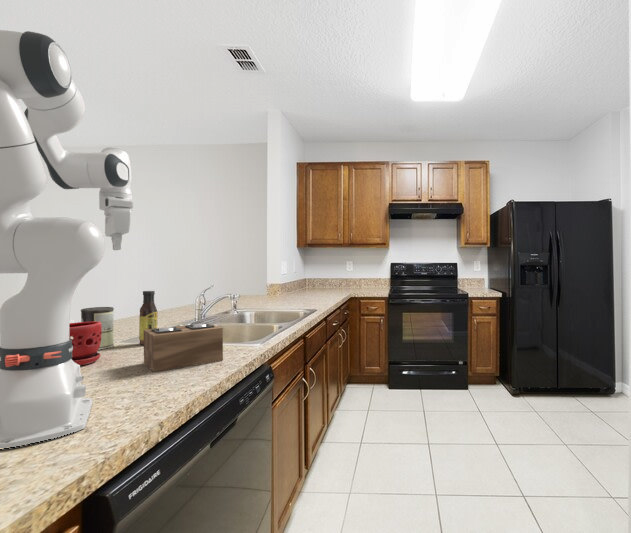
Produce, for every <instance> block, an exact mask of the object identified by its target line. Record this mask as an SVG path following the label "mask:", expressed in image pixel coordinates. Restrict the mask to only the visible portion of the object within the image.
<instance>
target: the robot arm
mask: <svg viewBox="0 0 631 533" xmlns="http://www.w3.org/2000/svg"><path fill="white" fill-rule="evenodd" d="M19 100H21V101H22V103H24V105H25V106H26V109H25V110H23V108H22V106H21V104H20V102H19ZM85 113H86V104H85V101H84V98H83V95H82V93H81V91H80V89H79V88H78V86H77V85H76V83H75V81H74V79H73V77H72V69H71V65H70V62H69V59H68V56H67V54H66V53H65V50H64V49H63V48H62V47H61V45H59V43H57V42H56V40H54V39H53V38H51V37H50V36H48V35H47V34H43V33H39V32H35V31H29V30H28V31H24V32H20V31H13V30H12V31H11V30H4V29H3V30H2V29H0V274H27V277H26V281H25V284H24V286H23V288H22V289H21V290H20V291H19V293H17V294H15V295H12V296H11V297H9V298H8V299H6V300H5V301H4V302H3V303H2V304H1V307H0V448H7V447H15V448H17V447H16V446H20V447H22V446H21V445H25V446H27V445H26V444H30V443H35V442H39V443H41V442H40V441H43V440H47V441H49V440H48V439H51V440H54V438H55V439H58V438H60V437H61V436H62V437H65V436H67V434H68V435H71V434H73V432H74V433H76V432H79V431H80V430H83V429H85V428H86V426H87V423H88V420H89V417H90V412H91V409H92V407H93V399H92V397H86V384H81V382H84V374H81V365H78V364H77V363H75V362H74V361H73V360H72V359H71V358H72V350H73V345H72V340H71V339H72V338H71V339H69V323H70V318H71V317H70V315H71V305H72V300H73V298H74V294H75V291H76V290H77V288H78V285H79V284H80V282H81V280H83V278H84V277H85V276H86V275H87V274H88V273H89V272H91V270H93V269H94V268H96V267H97V266H98V265H99V263H100V262H101V261H102V259H103V257H104V255H105V250H106V244H105V243H106V242H105V241H106V240H105V238H104V235H103V233H102V231H101V230H100V229H99V227H98V226H97V225H96V224H94V223H93V222H90V221H87V220H82V219H79V218H78V219H77V218H71V217H34V216H33V214H32V212H31V200H33V199H35V198H36V197H38V196H39V195H40V194H42V192H43V191H44V190H45V188H46V186H47V184H48V177H47V173H46V170H45V167H44V165H43V164H44V163H45V165H46V166H47V167H46V168H47V171H48V174H49V176H50V178H51V180H52V181H53V182H54V183H55V184H56V185H57V186H59V187H60V188H61V189H63V190H75V189H76V190H77V189H99V194H98V195H99V196H98V199H99V200H98V202H99V203H98V204H99V205H98V206H99V211H100V210H101V211H104V214H103V215H104V216H105V218H104V219H105V220H104V234H105V237H110V238H111V244H112V250H113V251H121V249H122V240H123V235H126V234H128V233H129V232H130V229H131V221H132V220H131V219H132V218H131V217H132V211H133V208H134V201H133V193H132V188H131V187H132V180H133V177H132V176H133V174H132V173H133V172H132V165H131V160H130V155H129V154H128V153H127V152H126V151H125V150H122V149H120V148H115V147H105V148H103V149H102V150H101V152H74V151H73V152H72V151H68V150H66V149H64V148H63V146H62V144H61V142H60V140H59V138H58V136H57V135H59V134H63V133H68V132H70V131H71V130H74V129H75V128H76V127H77V126H78V125H79V124H80V123H81V122H82V121H83V119H84V116H85ZM43 161H44V163H43ZM91 406H92V407H91ZM87 419H88V420H87ZM70 433H71V434H70ZM64 435H65V436H64ZM57 437H58V438H57ZM43 442H44V441H43ZM35 444H36V443H35ZM30 445H31V444H30Z"/></svg>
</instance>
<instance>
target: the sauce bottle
mask: <svg viewBox="0 0 631 533" xmlns="http://www.w3.org/2000/svg"><path fill="white" fill-rule="evenodd" d="M155 294H156V293H155V290H142V295H143V298H142V299H143V300H142V305H141V306H140V308H139V326H138V330H139V331H138V334H139V338H138V339H139V344H140V345H142V346H144V330H148V329H157V328H159V326H158V320H159V318H158V315H159V314H158V309H157V306H156V304H155Z"/></svg>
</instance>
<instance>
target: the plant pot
mask: <svg viewBox="0 0 631 533" xmlns="http://www.w3.org/2000/svg"><path fill="white" fill-rule="evenodd" d="M101 335H102V326H101V322H94V321H92V322H81V321H79V322H71V323H70V322H69V339H71V340H72V345H73V350H72V358H71V359H72V360H73V361H74V362H75V363H77V364H78V365H80V366H85V365H89V364H93V363H95V362H96V361H98V360H99V359H100V357H101V354H102V353H101V352H98V351H99V350H98V349H99V346H100V343H101Z"/></svg>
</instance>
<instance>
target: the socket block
mask: <svg viewBox="0 0 631 533" xmlns="http://www.w3.org/2000/svg"><path fill="white" fill-rule="evenodd" d="M204 324H206V326H205V327H196V328H194V327H193V325H194V324H188V325H177V326H172V327H173V328H174V330H169V331H159V328H160V327H157V329H148V330H144V345H143V363H145V364H146V366H147V368H149V369H150V368H151V369H152V370H153V371H154V372H153V371H152V370H151V369H150V370H151V371H152V372H153V373H156V371H158V372H163V371H168V370H174V369H175V370H176V369H180V368H186V366H187V367H191V366H192V367H193V366H197V365H198V366H199V365H204V363H205V364H209V363H210V362H211V363H216V362H215V361H217V362H222V361H221V360H223V361H224V346H223V345H224V344H223V343H224V342H223V341H224V338H223V336H224V334H223V332H224V331H223V330H224V328H223V327H222V326H219V325H215V324H211V323H208V322H207V323H204ZM145 364H144V365H145Z"/></svg>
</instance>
